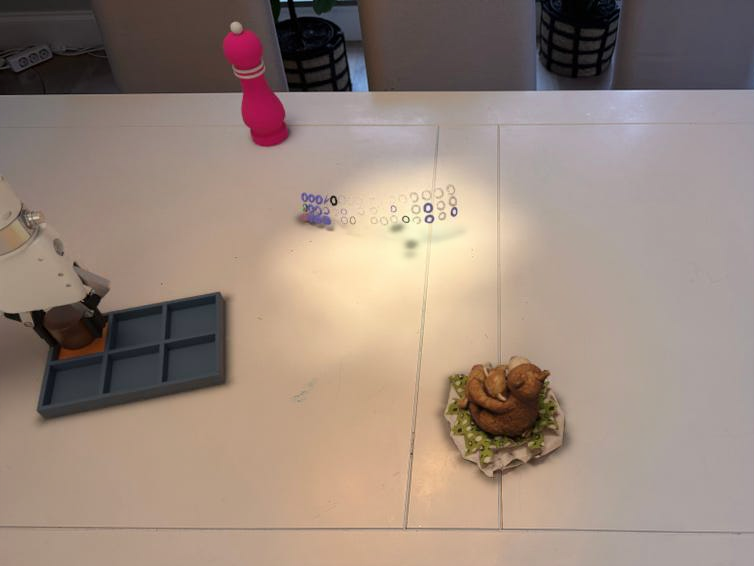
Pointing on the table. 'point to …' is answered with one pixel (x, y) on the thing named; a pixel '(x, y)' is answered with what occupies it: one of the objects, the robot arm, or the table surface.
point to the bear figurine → (503, 414)
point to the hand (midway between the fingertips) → (77, 333)
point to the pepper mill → (255, 87)
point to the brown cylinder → (67, 327)
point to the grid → (139, 357)
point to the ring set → (327, 220)
